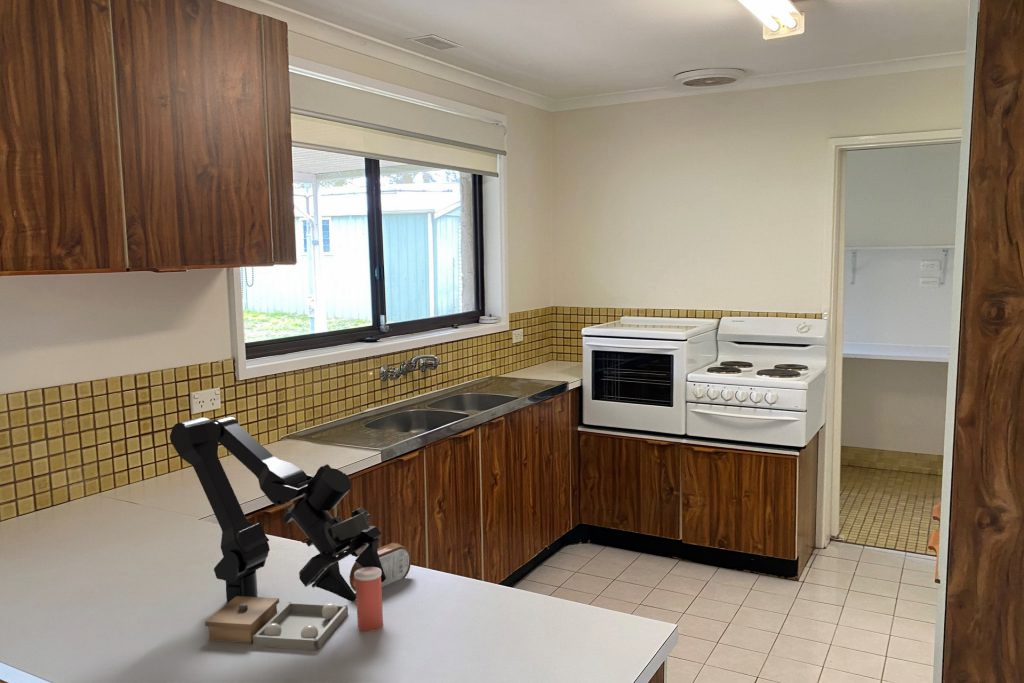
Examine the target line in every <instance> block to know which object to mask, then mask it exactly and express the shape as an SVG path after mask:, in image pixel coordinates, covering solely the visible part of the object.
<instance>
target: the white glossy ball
mask: <svg viewBox="0 0 1024 683" xmlns="http://www.w3.org/2000/svg"><path fill="white" fill-rule="evenodd" d="M317 636H318V630H317V628H316V627H315V626H313V625H308V626H305V627H304V628H303V629H302V631H301V638H311V639H315V638H316V637H317Z"/></svg>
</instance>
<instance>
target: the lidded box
mask: <svg viewBox="0 0 1024 683" xmlns="http://www.w3.org/2000/svg"><path fill="white" fill-rule="evenodd" d="M279 603H280V598H279V597H264V596H263V597H262V596H257V597H246V596H236V597H235V598H233V599H232V600H231V601H230V602H228V603H227V602H226V604H225V605H223V606H222V607H221V608H220V609H219V610H218V611H216V612H215V613H214V614H212V616H210V617H209V618H207V619H206V620H205V621H204V624H205V627H208V633H209V641H218V642H234V643H247V644H248V643H249V644H252V643H253V636H254V635H255V634H256V633H257V632H258V631H259V630H260V629H261V628H262V627H263V626H264V625H265V624H266V623H267V622H269V621H270V620H271V619H272V618H273V617H274V616H275V615H276V614H277V613H278V608H277V607H278V604H279Z"/></svg>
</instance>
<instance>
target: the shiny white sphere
mask: <svg viewBox="0 0 1024 683" xmlns="http://www.w3.org/2000/svg"><path fill="white" fill-rule="evenodd" d="M281 632H282V630H281V627H280V625H279V624H277V623H270V624H268V625H267V626H266V628H265V630H264V635H265V636H280V635H281Z"/></svg>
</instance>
